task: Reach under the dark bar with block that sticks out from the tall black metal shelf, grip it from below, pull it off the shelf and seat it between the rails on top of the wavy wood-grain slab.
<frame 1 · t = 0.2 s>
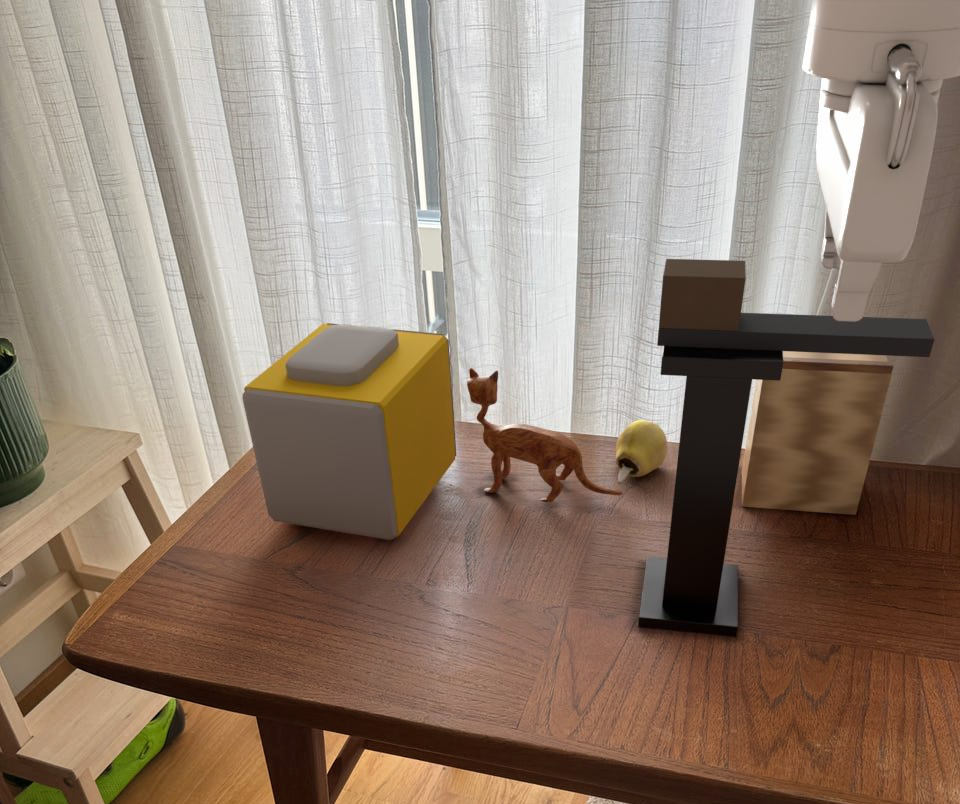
hand: (839, 289, 59), 34 cm above the table, tool pointing down, fingers open, 8 cm apart
fruit: (637, 473, 108), on the table
cat figurine: (545, 493, 106), on the table
alarm clock: (367, 503, 106), on the table
shelf stand: (688, 599, 89), on the table
wavy wood-grain slab: (796, 492, 103), on the table
dark bar with block: (788, 341, 71), point 26 cm above the table, touching shelf stand
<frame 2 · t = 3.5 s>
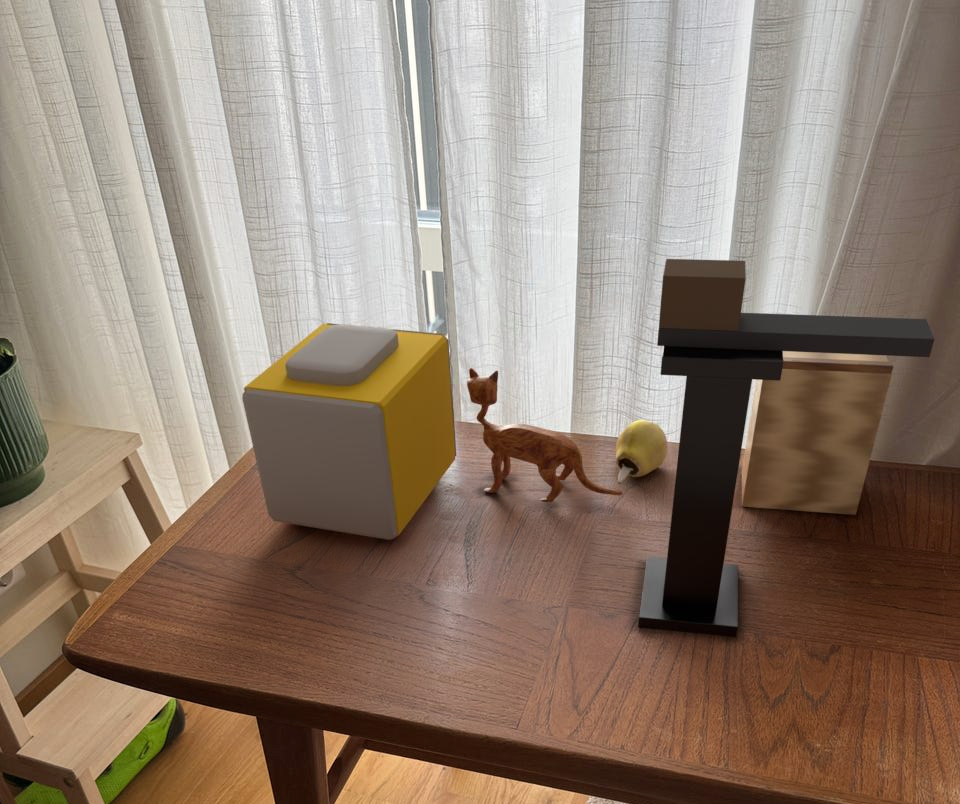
nothing on the table moved.
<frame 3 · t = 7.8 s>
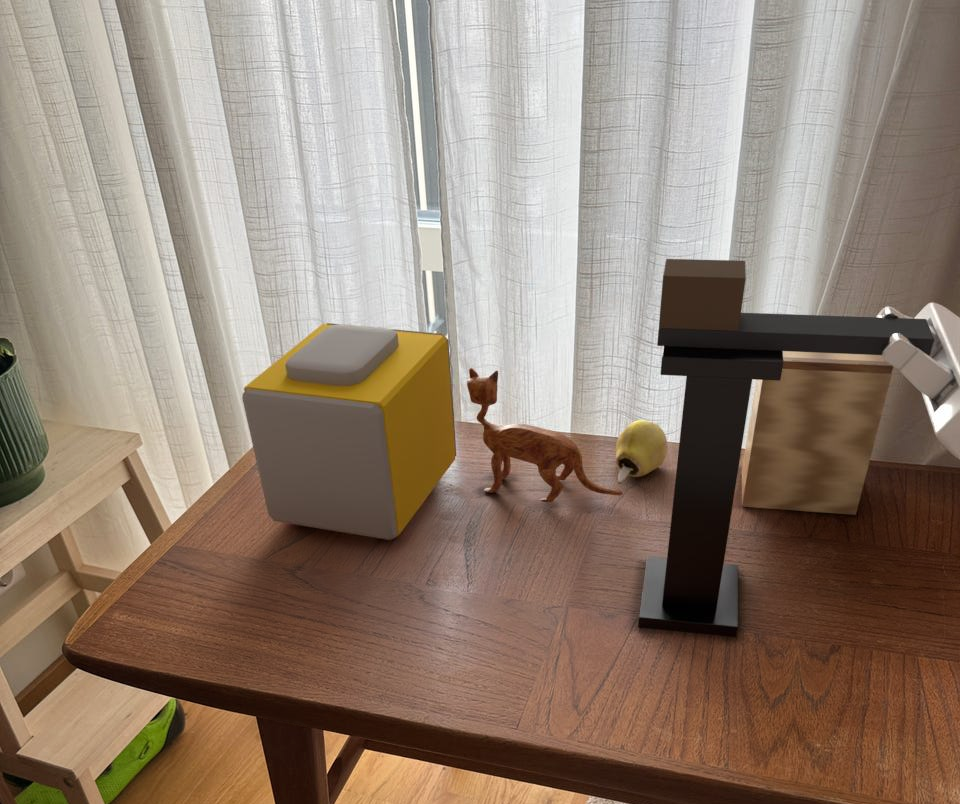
hand: (883, 330, 69), 27 cm above the table, tool pointing upward, fingers closed on dark bar with block, 4 cm apart
dark bar with block: (788, 341, 71), point 26 cm above the table, touching gripper, shelf stand
everything else where it was.
when the fingers open (17 cm above the table, at t = 17.7 s): dark bar with block stays where it is, resting on wavy wood-grain slab.
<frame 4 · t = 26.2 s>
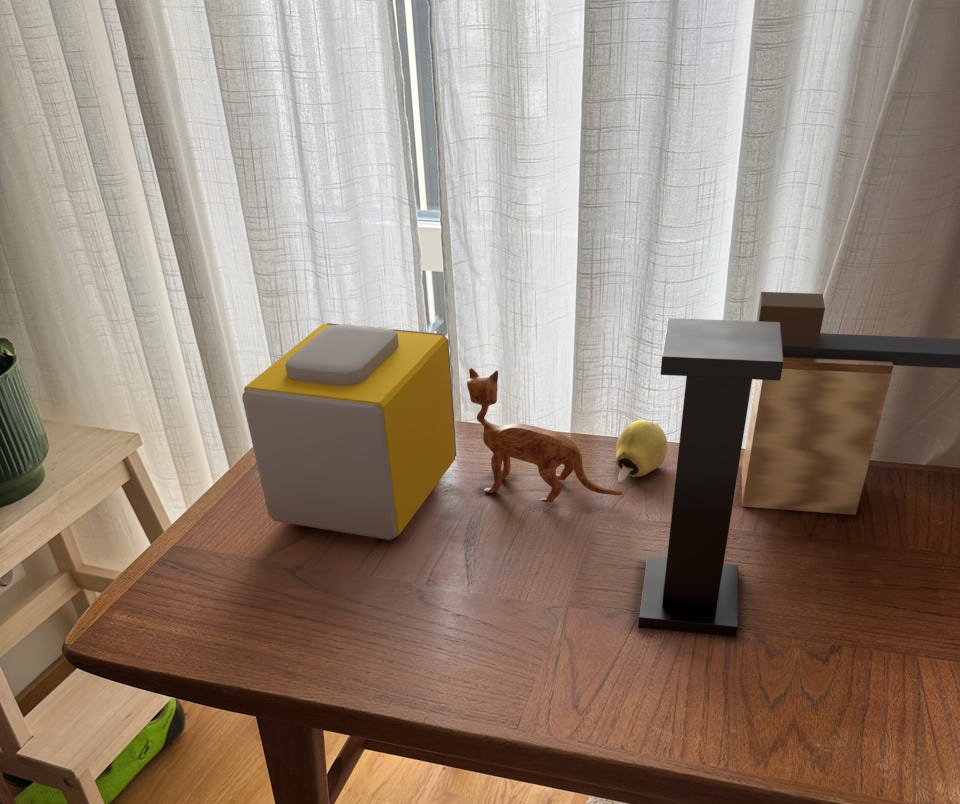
dark bar with block: (854, 355, 93), point 16 cm above the table, touching wavy wood-grain slab
everything else where it was.
at the end: dark bar with block inside the target area on the wavy wood-grain slab (1.0 cm from its centre), point 16.0 cm above the wavy wood-grain slab's base; dark bar with block tilted 0°; the gripper is holding nothing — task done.
